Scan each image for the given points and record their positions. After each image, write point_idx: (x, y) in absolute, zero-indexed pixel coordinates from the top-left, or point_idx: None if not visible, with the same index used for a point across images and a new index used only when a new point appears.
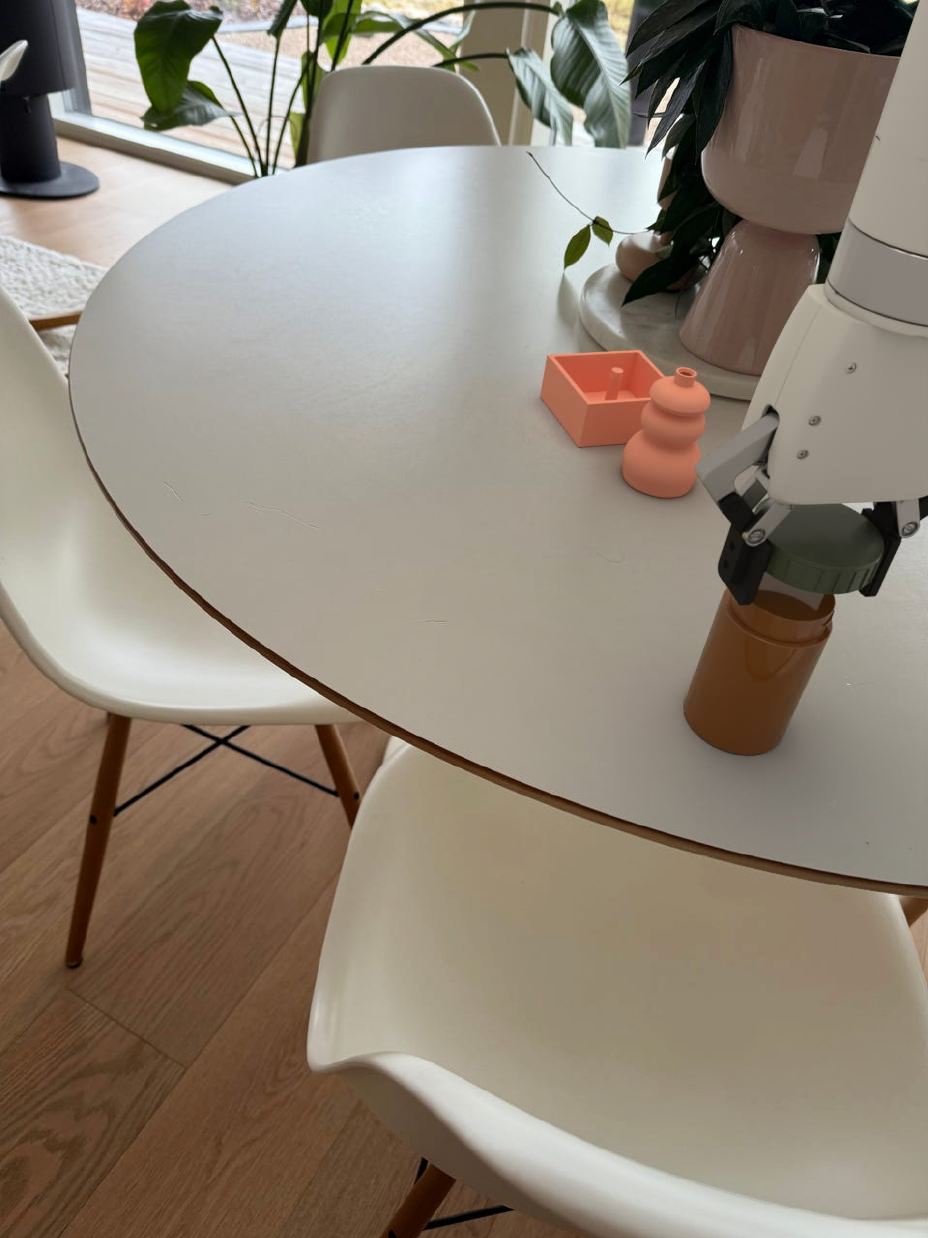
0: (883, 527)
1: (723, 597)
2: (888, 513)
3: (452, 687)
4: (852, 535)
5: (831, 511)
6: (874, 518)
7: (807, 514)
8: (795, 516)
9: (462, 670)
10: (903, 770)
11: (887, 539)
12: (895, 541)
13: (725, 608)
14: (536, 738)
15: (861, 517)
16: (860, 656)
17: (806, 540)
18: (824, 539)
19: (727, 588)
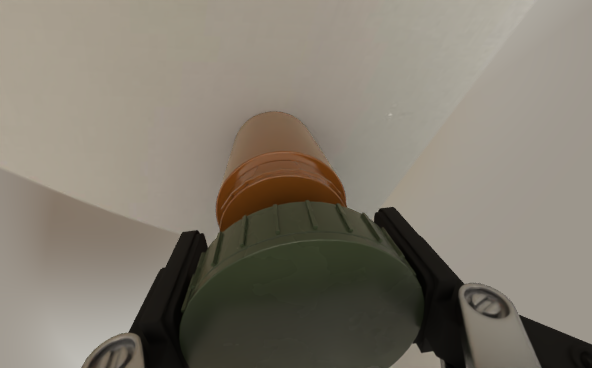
0: (430, 335)
1: (219, 194)
2: (455, 349)
3: (7, 113)
4: (361, 346)
5: (364, 292)
6: (434, 313)
7: (305, 306)
8: (275, 315)
9: (10, 89)
10: (378, 197)
11: (418, 342)
12: (425, 352)
13: (216, 213)
14: (103, 172)
15: (416, 300)
16: (423, 78)
17: (267, 365)
18: (302, 361)
19: (229, 178)
